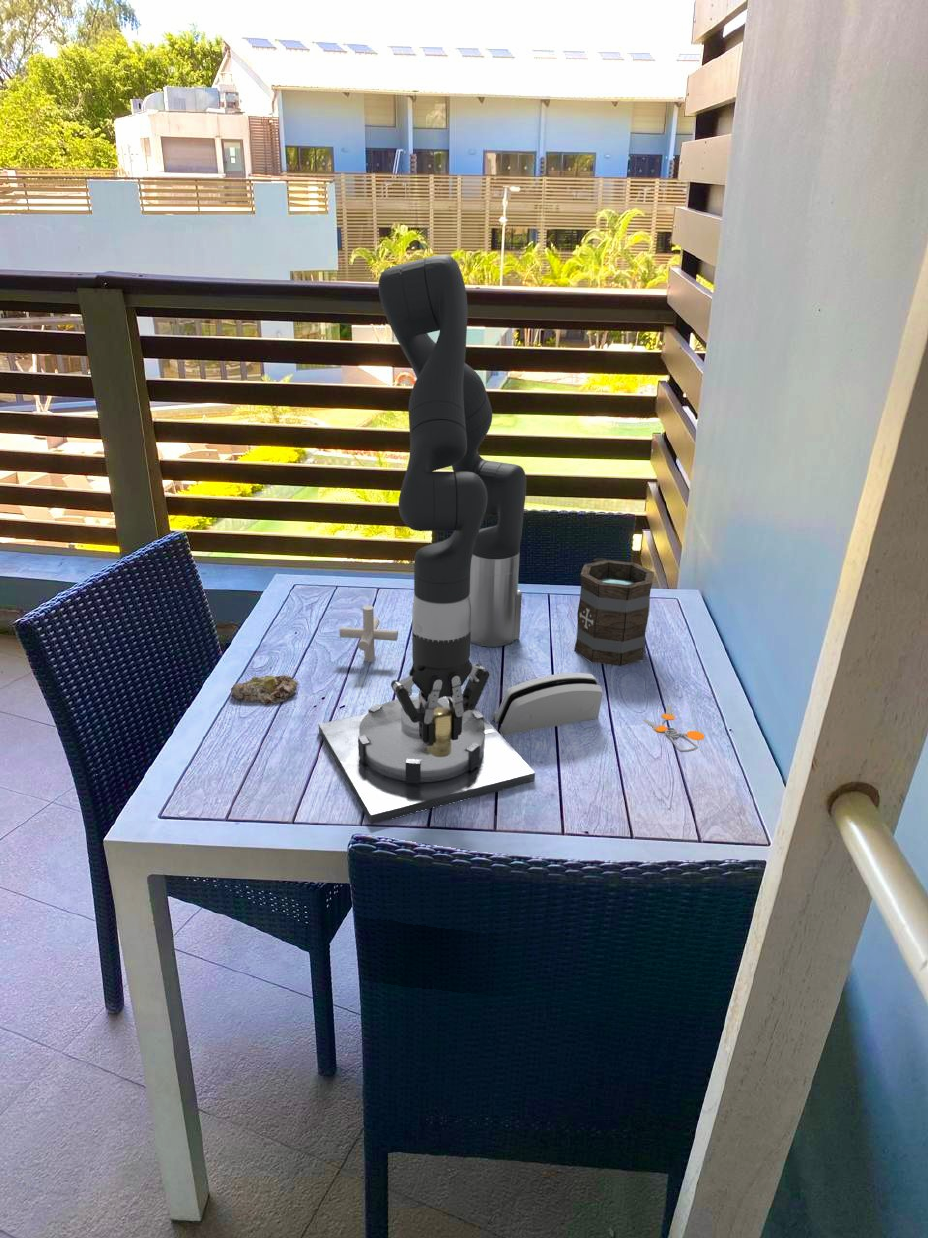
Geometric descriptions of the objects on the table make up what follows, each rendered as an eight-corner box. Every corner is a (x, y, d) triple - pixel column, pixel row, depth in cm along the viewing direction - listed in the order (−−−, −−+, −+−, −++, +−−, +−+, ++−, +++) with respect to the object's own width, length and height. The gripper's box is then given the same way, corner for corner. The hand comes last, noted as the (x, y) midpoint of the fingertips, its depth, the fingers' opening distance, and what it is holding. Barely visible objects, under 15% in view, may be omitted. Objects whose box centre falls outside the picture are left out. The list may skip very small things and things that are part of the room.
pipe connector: (401, 648, 157) (401, 598, 153) (392, 674, 148) (391, 621, 144) (347, 645, 158) (346, 594, 154) (335, 670, 149) (332, 617, 145)
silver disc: (341, 728, 129) (339, 675, 125) (455, 704, 136) (456, 653, 132) (382, 795, 114) (381, 737, 110) (507, 763, 121) (510, 708, 118)
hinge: (584, 702, 141) (599, 660, 134) (596, 725, 138) (612, 683, 131) (489, 719, 136) (500, 676, 129) (499, 742, 132) (511, 700, 126)
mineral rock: (295, 666, 146) (297, 676, 138) (298, 691, 147) (300, 702, 139) (230, 674, 144) (228, 684, 136) (233, 699, 145) (231, 711, 137)
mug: (657, 664, 154) (667, 586, 148) (583, 667, 152) (590, 589, 146) (624, 618, 172) (632, 547, 165) (558, 621, 170) (563, 549, 164)
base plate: (462, 701, 140) (462, 693, 140) (534, 781, 121) (535, 772, 120) (318, 732, 131) (318, 723, 130) (371, 824, 111) (371, 814, 111)
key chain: (717, 747, 130) (718, 743, 130) (675, 755, 128) (675, 750, 128) (672, 706, 141) (672, 702, 141) (632, 713, 139) (633, 708, 139)
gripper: (478, 606, 116) (474, 716, 124) (379, 622, 111) (382, 737, 118) (503, 628, 110) (498, 743, 117) (400, 646, 105) (401, 766, 112)
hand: (440, 739), depth 118 cm, fingers closed on silver disc, 3 cm apart
